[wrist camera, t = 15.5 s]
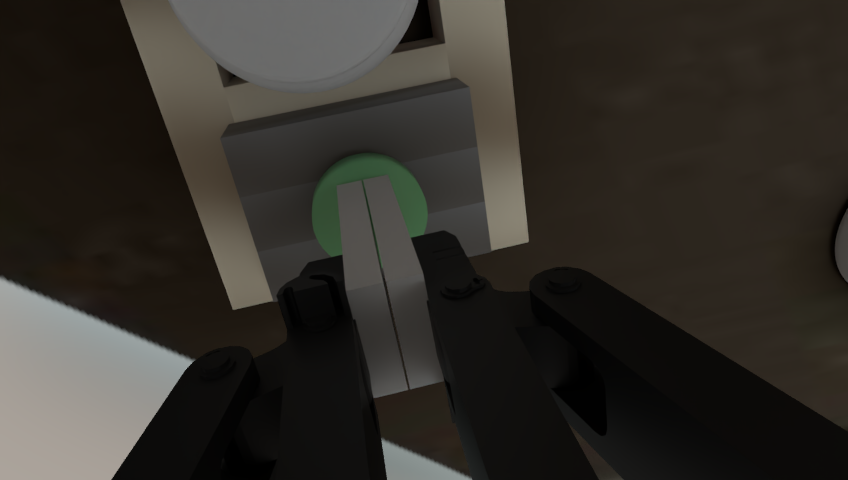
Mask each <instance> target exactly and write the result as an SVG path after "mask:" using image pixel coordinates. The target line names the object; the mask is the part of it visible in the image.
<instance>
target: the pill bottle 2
mask: <svg viewBox="0 0 848 480" xmlns="http://www.w3.org/2000/svg"><path fill="white" fill-rule="evenodd" d="M835 259H836V263H837V266H838V269H839V271H840V273H841V275H842V276H843V278H844V279H845V280H846V281H847V282H848V209H847V210H846V212H845V214H844V216H843V218H842V221H841V223H840V226H839V229H838V232H837V236H836V241H835Z"/></svg>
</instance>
